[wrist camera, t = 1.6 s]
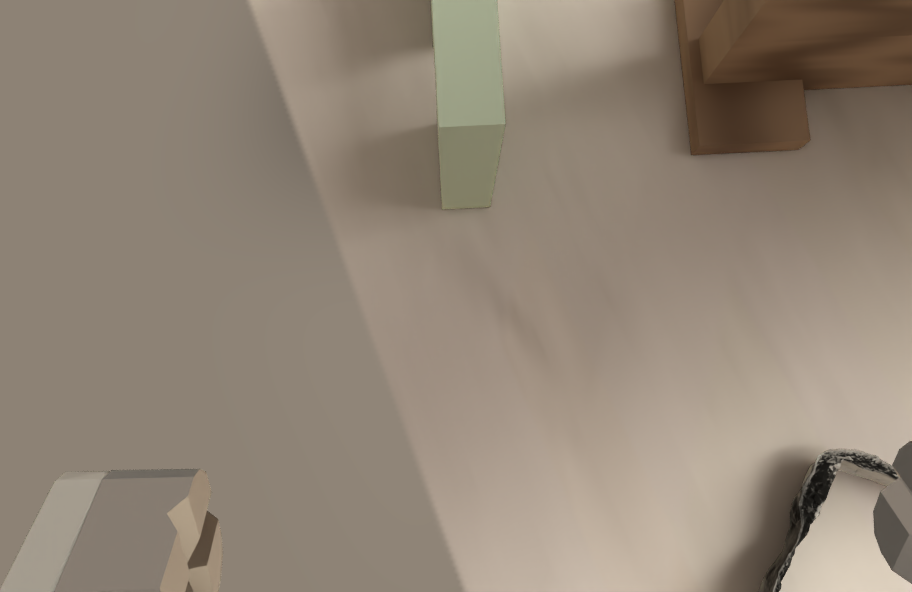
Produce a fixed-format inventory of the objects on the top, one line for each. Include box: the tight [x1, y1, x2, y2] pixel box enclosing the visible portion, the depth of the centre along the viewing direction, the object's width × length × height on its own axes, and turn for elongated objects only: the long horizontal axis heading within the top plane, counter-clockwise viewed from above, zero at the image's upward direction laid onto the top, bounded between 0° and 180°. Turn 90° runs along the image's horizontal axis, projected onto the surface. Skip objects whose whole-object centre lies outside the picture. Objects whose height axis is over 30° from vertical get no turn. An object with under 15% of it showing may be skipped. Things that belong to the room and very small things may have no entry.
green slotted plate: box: [431, 0, 506, 210], centre depth 31 cm, size 12×2×10 cm, turn 3°
